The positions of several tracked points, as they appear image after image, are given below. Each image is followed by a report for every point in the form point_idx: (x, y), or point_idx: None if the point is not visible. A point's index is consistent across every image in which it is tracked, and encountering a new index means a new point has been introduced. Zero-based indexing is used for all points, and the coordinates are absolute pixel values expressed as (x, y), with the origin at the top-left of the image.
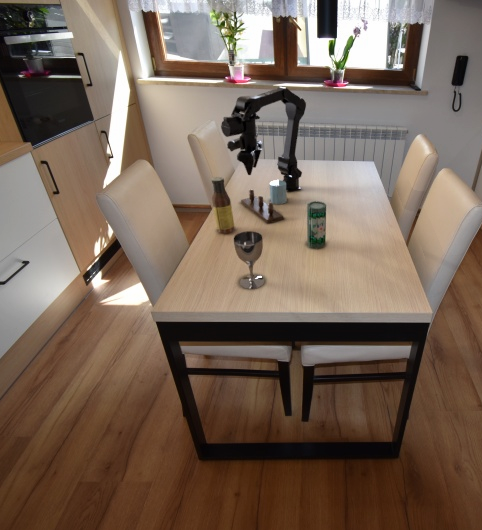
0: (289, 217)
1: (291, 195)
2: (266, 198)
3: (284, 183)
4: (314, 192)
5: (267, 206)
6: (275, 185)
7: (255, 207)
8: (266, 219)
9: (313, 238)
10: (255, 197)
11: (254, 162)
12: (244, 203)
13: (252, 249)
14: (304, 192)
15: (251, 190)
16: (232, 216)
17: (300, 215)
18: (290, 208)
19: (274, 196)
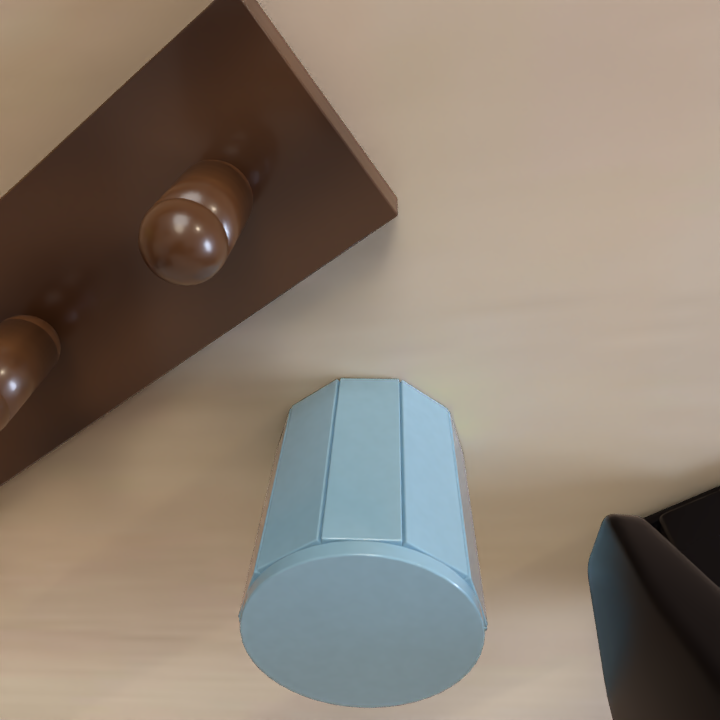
0: (5, 547)
1: (521, 547)
2: (439, 324)
3: (356, 696)
4: (580, 691)
5: (89, 393)
6: (264, 618)
7: (13, 264)
8: None
9: None
10: (350, 217)
11: (660, 714)
12: (138, 71)
13: None
14: (590, 634)
15: (148, 263)
16: None
17: (75, 611)
18: (197, 548)
19: (271, 483)
